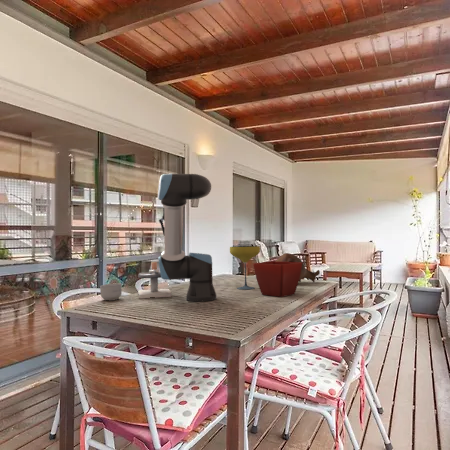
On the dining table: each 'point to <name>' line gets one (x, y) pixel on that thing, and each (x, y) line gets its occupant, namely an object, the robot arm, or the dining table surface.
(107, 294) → the teacup
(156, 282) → the wheel stand
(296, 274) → the plant pot
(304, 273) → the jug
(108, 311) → the dining table surface
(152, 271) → the handwheel
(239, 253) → the cocktail glass
